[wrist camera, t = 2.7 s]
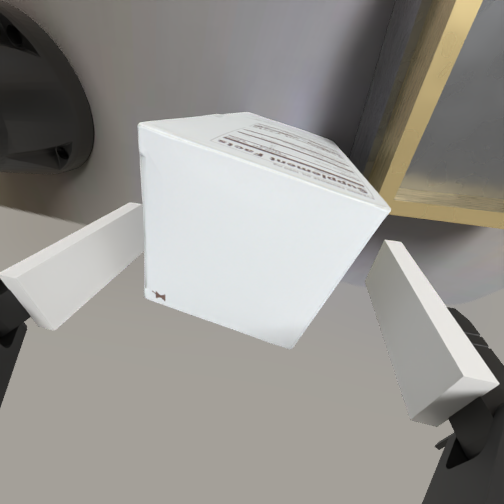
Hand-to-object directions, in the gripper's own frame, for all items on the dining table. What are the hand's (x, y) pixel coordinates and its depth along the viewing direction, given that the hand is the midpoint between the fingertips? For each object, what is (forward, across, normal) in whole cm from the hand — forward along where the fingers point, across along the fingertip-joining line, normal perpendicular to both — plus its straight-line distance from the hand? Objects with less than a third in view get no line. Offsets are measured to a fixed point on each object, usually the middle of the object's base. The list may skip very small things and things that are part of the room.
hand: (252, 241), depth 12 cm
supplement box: (+14, 0, 0) cm, 14 cm away
